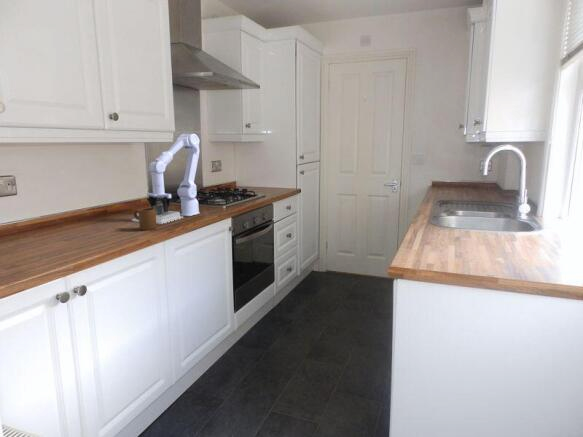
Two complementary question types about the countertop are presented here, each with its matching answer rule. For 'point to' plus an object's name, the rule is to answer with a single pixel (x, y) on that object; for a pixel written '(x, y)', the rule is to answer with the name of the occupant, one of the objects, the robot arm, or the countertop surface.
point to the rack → (165, 217)
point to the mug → (146, 218)
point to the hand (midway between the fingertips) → (160, 211)
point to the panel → (159, 209)
